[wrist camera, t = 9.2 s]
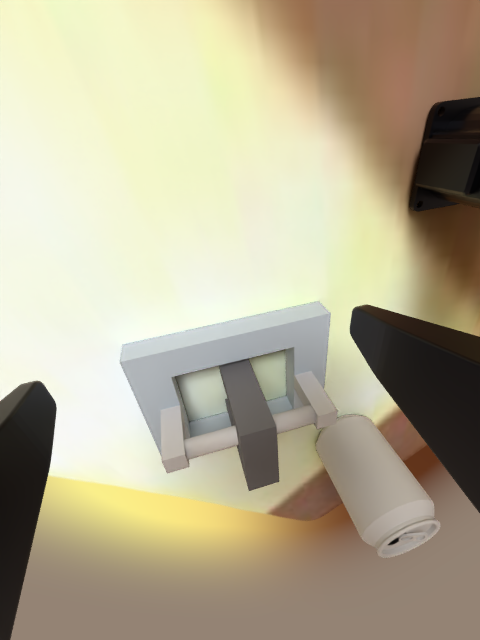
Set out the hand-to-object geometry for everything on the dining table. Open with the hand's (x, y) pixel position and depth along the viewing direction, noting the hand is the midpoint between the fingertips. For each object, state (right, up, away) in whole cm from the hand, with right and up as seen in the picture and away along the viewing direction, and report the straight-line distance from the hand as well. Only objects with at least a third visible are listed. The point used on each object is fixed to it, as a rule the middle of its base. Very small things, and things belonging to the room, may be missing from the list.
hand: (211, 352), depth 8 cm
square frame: (0, -5, +18) cm, 19 cm away
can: (+13, -13, +27) cm, 33 cm away
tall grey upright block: (0, -5, +18) cm, 19 cm away
